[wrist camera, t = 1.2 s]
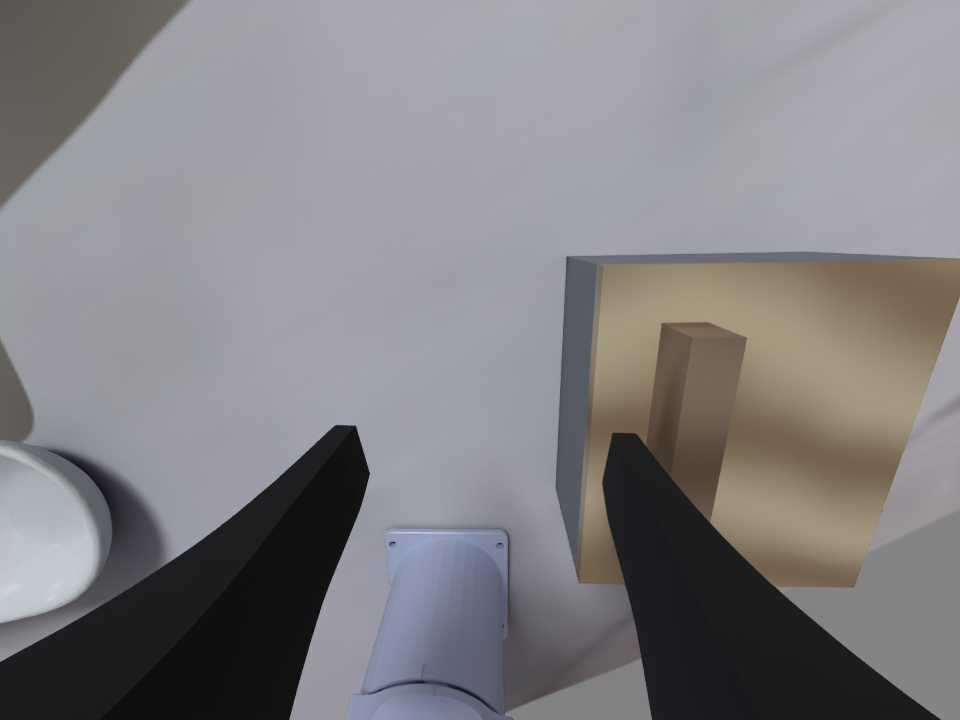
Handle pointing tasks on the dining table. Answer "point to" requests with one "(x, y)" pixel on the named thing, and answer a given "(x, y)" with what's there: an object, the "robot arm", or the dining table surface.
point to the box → (579, 355)
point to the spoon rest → (47, 531)
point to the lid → (765, 399)
